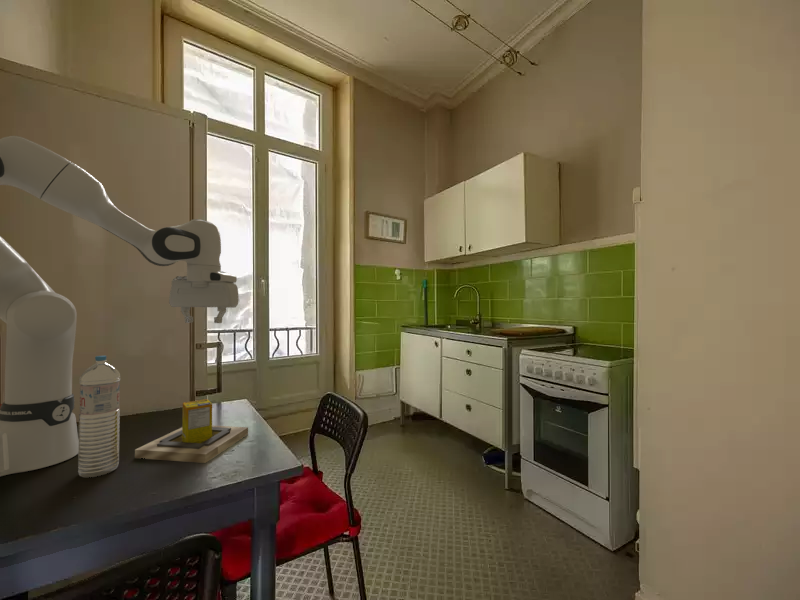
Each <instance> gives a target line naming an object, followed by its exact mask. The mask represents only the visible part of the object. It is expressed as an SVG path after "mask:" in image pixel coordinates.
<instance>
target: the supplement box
mask: <svg viewBox="0 0 800 600" xmlns="http://www.w3.org/2000/svg"><path fill="white" fill-rule="evenodd" d="M181 410H182V419H181V421H182V423H181V424H182V425H181V428H182V442H187V443H202V442H204V441H206V440H207V439H209V438H211V437H212V425H213V403H212V402H211V401H210V400H209V399H208V398H207V399H206V398H205V399H204V398H203V399H198V400H192V401H185V402H182V409H181Z"/></svg>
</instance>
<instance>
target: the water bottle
mask: <svg viewBox="0 0 800 600" xmlns="http://www.w3.org/2000/svg"><path fill="white" fill-rule="evenodd" d="M94 359H95V360H94V361H95V363H94V364H92V365H91V366H88V368H86V369H85V371H84V372H83V373H82V374H81V375H80V376H79V385H80V388H79V389H80V390H79V396H80V397H79V414H78V440H79V442H78V443H79V445H78V448H79V449H78V454H77V455H78V458H77V466H78V467H77V470H78V471H77V472H78V475H79V477H81V478H84V479H86V478H88V479H89V477H90V478H91V477H92V478H97V476H98V477H101V475H102V476H104V475H108V474H109V473H112V472H113V471H116V469H118V467H119V463H120V424H121V423H120V419H121V416H120V414H121V413H120V412H121V408H120V381H121V373H120V371H119V370H118V369H117V368H116V367H115V366H113V365H112V364H109V363H108V362H106V361H107V355H96V356H95V357H94ZM107 473H108V474H107Z"/></svg>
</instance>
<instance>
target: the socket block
mask: <svg viewBox="0 0 800 600" xmlns="http://www.w3.org/2000/svg"><path fill="white" fill-rule="evenodd" d="M246 435H247V436H248V435H249V427H248V426H247V427H246V426H232V425H231V426H229V425H228V426H227V425H214V424H212V437H211V438H209V439H207V440H206V441H204V442H202V443H187V442H182V427H179V428H178V429H175V430H173V431H171V432H170V433H169V432H168V433H167V434H165V435H163V436H161V437H159V438H157V439H154V440H152V441H150V442H147V443H146V444H144V445H142V446H139V447H138V448H135V449H134V459H141V458H143V460H161V461H171V462H173V461H174V462H187V463H198V464H199V463H200V464H206V463H208V462H209V461H211V460H212V459H214V458H215V457H217V456H218V455H219V454H220V455H221V453H222V452H224V451H226V450H227V449H229V448H230V447H232V446H234V445H235V444H236V443H238V442H240V441H241V440H242V439H244V438H245V437H247V436H246ZM243 437H244V438H243ZM240 439H241V440H240ZM144 458H145V459H144Z"/></svg>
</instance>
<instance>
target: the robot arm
mask: <svg viewBox="0 0 800 600" xmlns="http://www.w3.org/2000/svg"><path fill="white" fill-rule="evenodd" d="M0 186H10V187H14V188H17V189H20V190H21V191H24V192H26V193H28V194H30V195H32V196H33V197H35V198H37V199H38V200H40V201H43V202H44V203H46V204H48V205H51V206H53V207H55V208H56V209H58V210H61V211H63V212H66V213H68V214H71V215H72V216H74V217H78V218H80V219H82V220H84V221H87V222H90V223H92V224H94V225H96V226H98V227H100V228H102V229H103V230H105V231H107V232H109V233H110V234H112V235H114V236H116V237H117V238H119V239H121V240H123V241H124V242H126V243H128V244H129V245H131V246H133V247H134V248H135V249H136V250H137V251H138V252H139V253H140V254H141V255H142V257H143V258H144V259H145V260H147V261H148V262H149V263H151V264H152V265H154V266H158V267H169V266H172V265H174V264H176V263H178V262H185V263H186V275H184V276H182V275H180V276H179V275H178V276H175V277H174V278H173V279H172V280H171V286H170V292H169V299H168V303H169V305H170V306H171V307H173V308H180V312H181V314H182V316H183V317H184V323H185V324H187V323H188V324H190V323H191V324H192V323H193V322H194V316H191V313H190V311H191V308H216V309H217V312H218V314H217V315H216V316H215V317H213V320H214V321H213V323H214V324H222V323H223V317H224V315H225V314H226V312H227V309H229V308H236V307H237V306H238V304H239V288H238V285H237V284H236V283H237V280H238V279H237V276H236V275H234V274H231V273H228V272H227V271H226V272H224V271H222V269H221V267H222V265H221V261H220V256H221V254H222V243H221V241H222V240H221V233H220V230H219V227H218V226H217V225H216V224H215V223H213V222H211V221H208V220H204V219H197V218H196V219H195V218H194V219H191V220H190V221H187V222H185V223H182V224H179V225H173V226H165V227H162V228H159V229H157V230H155V229H151V228H149V227H147V226H145V225H144V224H142V223H140V222H139V221H137V220H135V218H132V217H130V216H129V215H127V214H126V213H124V212H123V211H122V210H120V209H119V208H118V207H117V206H116V205H114V203H113V201H112V200H111V199H110V197H109V195H108V194H107V192H106V189H105V187H104V185H103V184H102V182H100V181H99V180H98V179H97V178H96V177H94V176H93V175H92V174H90V173H89V172H88V171H87V170H86V169H84V168H82V167H81V166H79V165H77V164H76V163H74V162H73V161H71V160H69V159H67V158H66V157H64V156H62V155H60V154H58V153H57V152H54V151H53V150H52V149H50V148H47V147H45V146H43V145H42V144H39V143H37V142H35V141H32V140H30V139H28V138H25V137H23V136H19V135H18V136H17V135H10V136H9V135H8V136H4V137H1V138H0ZM77 318H78V313H77V309H76V306H75V305H74V303H73V302H72V301H71V300H70V299H69V298H68V297H66V296H64V295H63V294H60V293H57V292H55V290H54V289H53V288H52V287H51V286H50V285H49V284H48V283H47V282H46V281H45V280H44V279H43V278H42V277H41V276H40V275H39V273H37V272H36V270H35V269H34V268H33V267H32V266H31V265H30V264H29V262H27V260H26V259H25V258H24V257H23V256H22V255H21V254H20V253H19V252H18V251H17V250H15V248H14V247H13V246H11V245H10V243H9V242H8V241H6V240H5V239H4V237H2V236H1V235H0V320H1V321H2V322H4V323H5V324H6V334H5V335H6V337H5V339H6V341H5V365H4V368H5V369H4V370H5V371H4V402H2V403H0V477H3V476H6V475H11V474H18V473H25V472H28V471H29V472H30V471H34V470H38V469H43V468H46V467H49V466H53V465H57V464H59V463H63V462H64V461H68V460H70V459H73V457H75V456H77V455H78V449H79V448H78V445H79V443H78V442H79V433H78V426H77V425H78V424H77V418H76V414H75V413H74V412H73V410H74V409H75V402H76V399H75V394H74V393H73V360H74V354H75V353H74V352H75V346H76V345H75V343H76V334H77V333H76V332H77Z"/></svg>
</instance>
